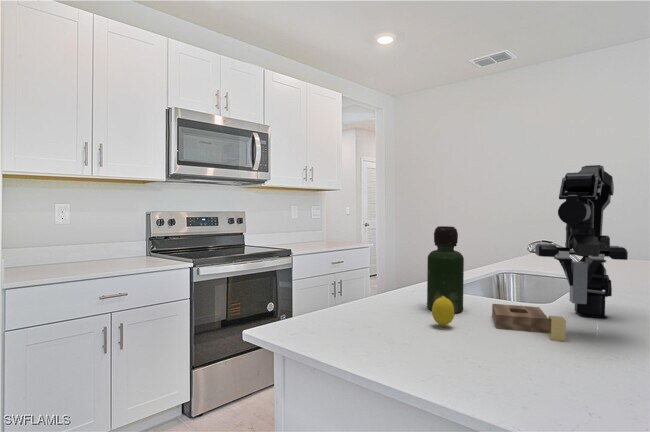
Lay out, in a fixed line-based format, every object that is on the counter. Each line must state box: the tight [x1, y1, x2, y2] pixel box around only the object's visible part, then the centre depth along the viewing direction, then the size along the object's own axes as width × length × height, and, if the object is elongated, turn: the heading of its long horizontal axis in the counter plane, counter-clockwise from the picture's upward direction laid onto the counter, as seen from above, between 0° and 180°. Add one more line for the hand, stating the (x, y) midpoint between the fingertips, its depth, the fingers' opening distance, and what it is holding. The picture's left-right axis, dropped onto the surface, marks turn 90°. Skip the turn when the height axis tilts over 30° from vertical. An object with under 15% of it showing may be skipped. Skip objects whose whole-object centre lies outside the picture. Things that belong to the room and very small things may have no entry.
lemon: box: [431, 296, 455, 328], centre depth 105 cm, size 6×6×8 cm
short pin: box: [547, 315, 567, 342], centre depth 96 cm, size 3×3×5 cm
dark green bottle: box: [426, 225, 465, 314], centre depth 122 cm, size 10×10×25 cm
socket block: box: [491, 303, 549, 334], centre depth 108 cm, size 12×12×4 cm
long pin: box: [569, 260, 588, 304], centre depth 101 cm, size 3×3×10 cm
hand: (578, 286), depth 101 cm, fingers closed on long pin, 3 cm apart
